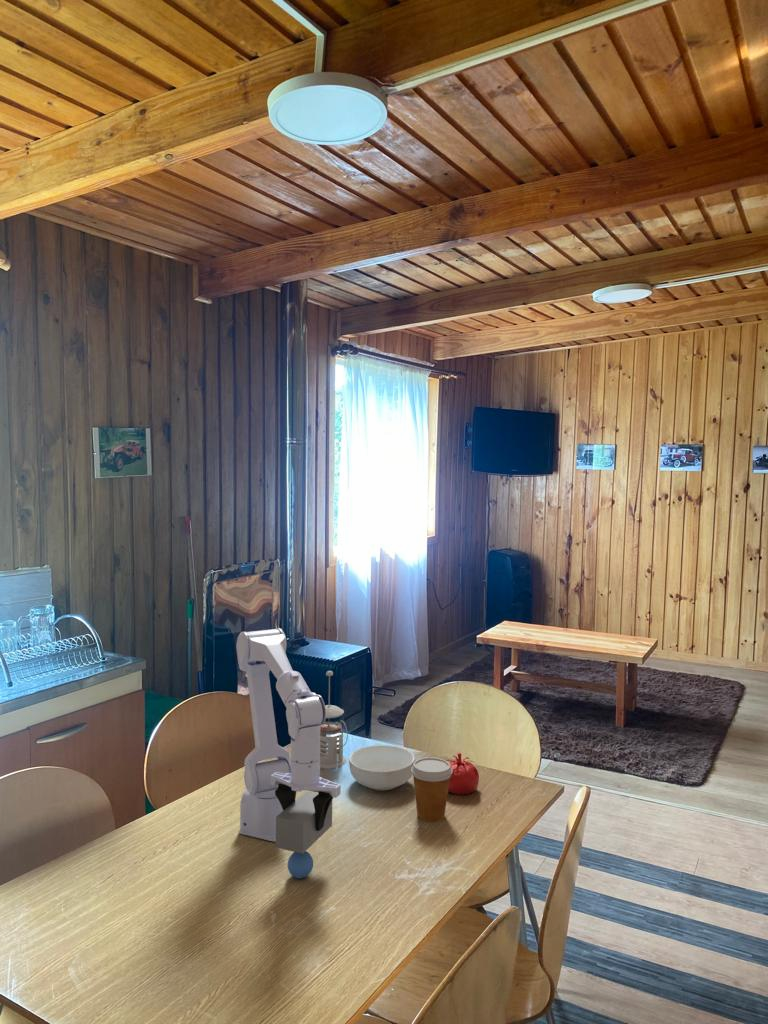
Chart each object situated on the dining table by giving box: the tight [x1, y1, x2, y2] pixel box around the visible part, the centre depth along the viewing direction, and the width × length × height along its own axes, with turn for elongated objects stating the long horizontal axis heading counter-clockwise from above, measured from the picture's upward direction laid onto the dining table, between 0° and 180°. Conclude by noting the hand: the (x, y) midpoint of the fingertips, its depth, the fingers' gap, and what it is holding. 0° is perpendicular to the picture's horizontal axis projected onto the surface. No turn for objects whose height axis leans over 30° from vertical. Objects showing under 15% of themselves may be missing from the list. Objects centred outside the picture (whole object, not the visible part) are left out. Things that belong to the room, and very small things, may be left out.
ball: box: [287, 850, 314, 879], centre depth 147 cm, size 5×5×5 cm
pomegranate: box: [445, 752, 480, 796], centre depth 187 cm, size 10×10×9 cm
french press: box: [319, 670, 349, 769], centre depth 203 cm, size 10×12×25 cm
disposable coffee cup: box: [411, 757, 452, 822], centre depth 173 cm, size 10×10×12 cm
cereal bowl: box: [348, 744, 416, 791], centre depth 190 cm, size 17×17×7 cm
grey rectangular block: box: [275, 791, 333, 854], centre depth 148 cm, size 6×12×6 cm, turn 158°
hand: (304, 825), depth 148 cm, fingers closed on grey rectangular block, 6 cm apart
